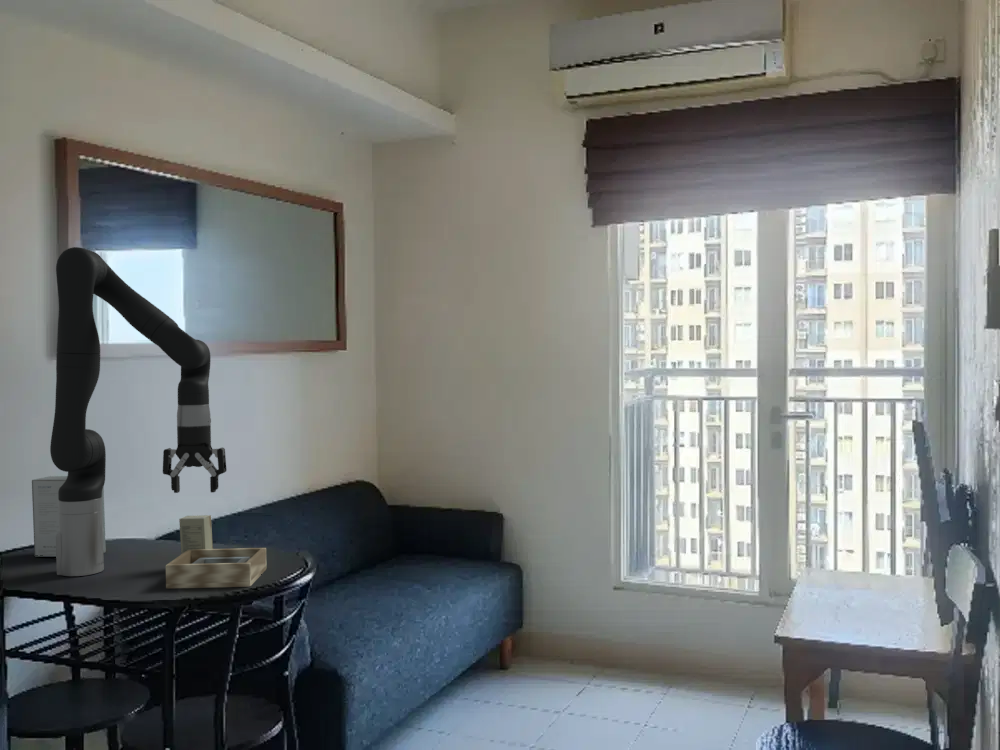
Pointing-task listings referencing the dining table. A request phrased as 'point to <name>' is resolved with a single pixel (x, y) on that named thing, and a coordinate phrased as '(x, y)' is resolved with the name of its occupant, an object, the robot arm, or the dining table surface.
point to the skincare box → (195, 532)
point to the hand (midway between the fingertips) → (195, 492)
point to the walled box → (216, 568)
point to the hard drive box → (50, 514)
